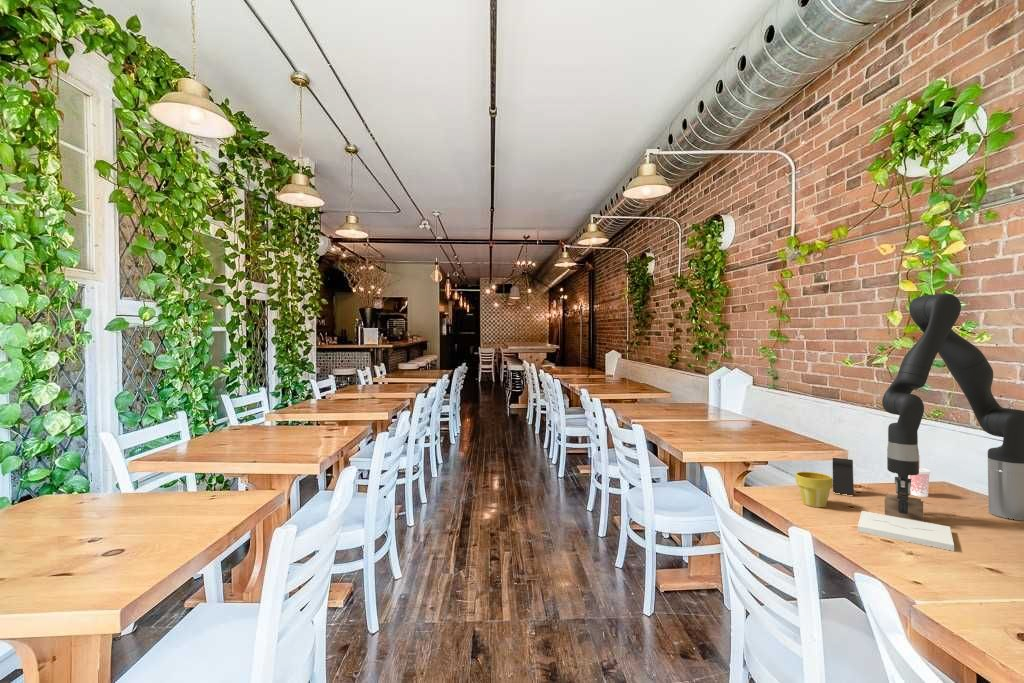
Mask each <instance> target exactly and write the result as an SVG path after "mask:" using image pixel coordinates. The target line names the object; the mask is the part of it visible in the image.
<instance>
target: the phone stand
mask: <svg viewBox="0 0 1024 683" xmlns="http://www.w3.org/2000/svg"><path fill="white" fill-rule="evenodd" d="M832 479H833V486H832V493H833V492H835V493H840V494H847V495H854V496H855V494H854V493H855V490H854V461H853V459H851V458H849V459H848V458H839V457H832Z"/></svg>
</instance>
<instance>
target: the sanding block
mask: <svg viewBox="0 0 1024 683" xmlns="http://www.w3.org/2000/svg"><path fill="white" fill-rule="evenodd" d="M897 497H898V494H893V493H887V495H885V497H884V515H888V516H894V517H899V518H905V519H910V520H916V521H921V522H924V501H922V498H918V497H911V496H908V499H909V501H908V514H902V513H899V512H898V499H897ZM903 497H906V496H903Z"/></svg>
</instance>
